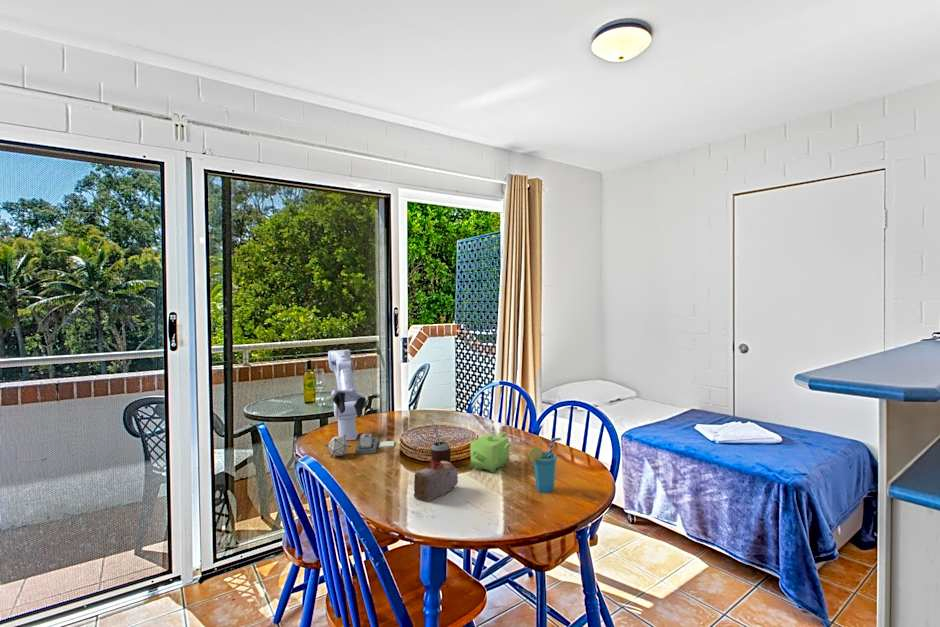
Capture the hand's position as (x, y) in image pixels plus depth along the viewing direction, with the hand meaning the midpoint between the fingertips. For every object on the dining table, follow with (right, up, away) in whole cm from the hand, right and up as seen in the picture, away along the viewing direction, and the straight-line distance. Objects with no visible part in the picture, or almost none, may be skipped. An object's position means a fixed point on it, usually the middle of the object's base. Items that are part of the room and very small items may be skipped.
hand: (351, 413), depth 190 cm
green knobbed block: (+53, -15, -18) cm, 58 cm away
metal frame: (+5, -15, +7) cm, 17 cm away
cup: (+70, -16, -37) cm, 81 cm away
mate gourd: (+35, -15, -15) cm, 41 cm away
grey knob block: (+5, -15, +4) cm, 16 cm away
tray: (+12, -15, +10) cm, 21 cm away
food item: (+35, -17, -38) cm, 54 cm away
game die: (-5, -16, -1) cm, 17 cm away
